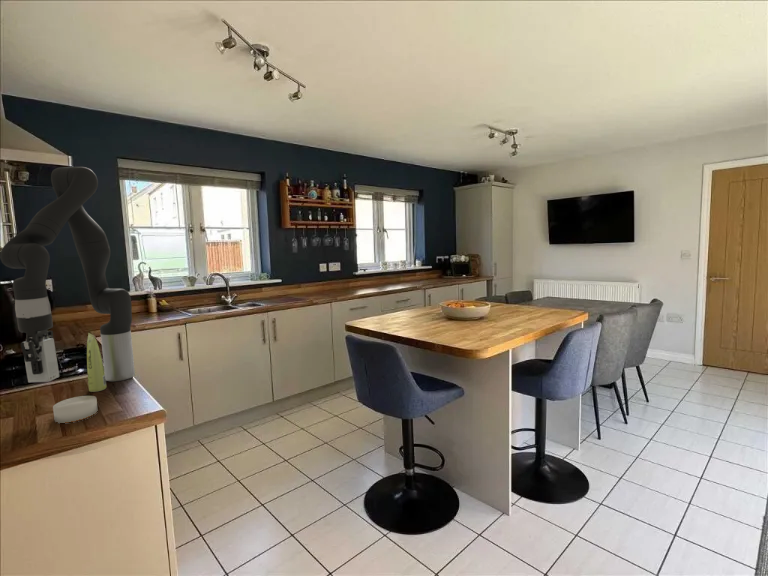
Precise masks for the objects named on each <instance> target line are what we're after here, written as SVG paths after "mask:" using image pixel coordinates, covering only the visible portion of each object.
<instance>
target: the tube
mask: <svg viewBox="0 0 768 576" xmlns="http://www.w3.org/2000/svg"><path fill="white" fill-rule="evenodd" d="M87 334H88V336H87V341H86V368H87V369H86V371H87V383H88V391H89V392H90V393H92V392H93V393H98V392H101V391H104V390H105V389H107V387H108V386H107V381H106V379H105V371H104V361H103V359H102V358H103V357H102V355H101V350H100V347H99V344H98V341H97V339H96V338H95V335H94V334H92V333H90V332H88V333H87Z"/></svg>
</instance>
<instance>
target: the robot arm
mask: <svg viewBox="0 0 768 576" xmlns="http://www.w3.org/2000/svg"><path fill="white" fill-rule="evenodd" d="M50 181H51V185H52V189H53V191H54V193H55V194H56V195H55V196H56V199H55V200H52V201H51V202H49V203H48V204H46V205H45V206H44V207H42V208H41V209H39V211H38V212H37V213H35V215H34V216H33V217H32V218H31V219H30V221H29V223H28V224H27V225H26V227H25V228H24V229H23V230H22V231H20V232H19V233H17V234H16V235H15V236H14V237H12V238H11V239H10V240H8V242H6V243H5V245H4V246H3V247H2V248H1V251H0V261H1V263H2V264H3V265H4V266H5V267H7V268H9V269H15V270H16V269H18V270H21V269H23V270H24V269H25V271H24V276H22V277H18V278H16V279H14V280H13V282H12V288H13V295H14V303H15V304H14V309H15V315H16V322H17V329H18V331H19V332H20V333H25V334H26V338H25V341H26V342H25V341H22V342H20V348H21V351H22V354H23V358H25V359H24V362H25V361H26V362H31V367H32V373H33V374H34V375H35V374H41V373H43V368H42V361H41V353H42V346H40V347H39V342H43V341H45V339H48V338H53V339H54V331H53V330H50V329H52V328H53V327H54V325H53V324H54V323H53V316H52V311H51V310H52V309H51V303H50V301H49V296H48V290H47V289H48V288H47V285H46V284H47V278H48V271H49V267H50V262H51V261H50V260H51V259H50V258H51V257H50V253H49V251H48V250H47V249H46V246H50V245H51V244H53V242H54V241H55V240H56V239H57V237H58V236H59V234H60V233H61V231H62V230H63V228H64V227H65V225H66V223H68V227H69V229H70V232H71V234H72V235H71V236H72V239H73V243H74V246H75V248H76V252H77V255H78V257H79V260H80V263H81V266H82V269H83V272H84V276H85V281H86V286H87V290H88V296H89V300H90V301H89V302H90V303H91V306H92V308H93V310H94V311H95V312H97V313H98V314H101V315H102V314H103V315H105V314H107V315H110V319H109V321H108V322H107V323H103V324H102V325H101V326H100V327H99V332H100V340H101V341H100V342H101V349H102V351H101V352H102V358H103V359H102V362H103V367H104V373H105V379H106V382H121V381H125V380H129V379H131V378H133V377H135V375H136V373H135V371H136V370H135V362H134V361H135V359H134V349H133V340H132V330H131V326H132V322H133V314H132V313H133V310H132V308H133V307H132V298H131V295H130V293H129V291H128V290H126V289H124V288H110V287H109V284H108V281H107V277H106V271H107V267H108V264H109V261H110V259H111V258H110V257H111V248H110V243H109V241H108V237H107V235H106V232H105V231H104V230H103V228H102V227H101V226H100V225H99V224H98V223H97V222H96V221H95V220H94V219H93V218H92V217H91V216H90V215H89V214H88V212H87V211H86V210H85V207H84V206H83V205H84V204H85V203H86V202H87V201H88V200H89V199H90V198H91V197H93V195H94V194H95V193H96V191H97V189H98V187H99V180H98V177H97V175H96V173H95V172H94V171H93V170H92V169H91V168H89V167H85V166H67V167H64V166H63V167H57V168H55V169H53V170H52V172H51V175H50ZM38 347H39V350H36V349H37V348H38ZM28 354H29V356H28Z"/></svg>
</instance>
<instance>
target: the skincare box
mask: <svg viewBox="0 0 768 576" xmlns="http://www.w3.org/2000/svg"><path fill="white" fill-rule="evenodd" d="M24 342H26V340H25V341H24ZM55 345H56V344H55V339H54V337H53V338H48V339H45V341H43V342H39V347H40V346H42V353H41V361H42V368H43V373H41V374H35V375H34V374H33V373H32V367H31V362H26V361H25V358H24V357H23V358H24V363H25V371H26V378H27V382H28V383H47V382H51V381H53V380H55V379H57V378H59V377H60V372H59V365H58V359H57V354H56V353H57V352H56V346H55ZM39 347H38V348H37V349H36V350H39ZM28 356H29V354H28Z"/></svg>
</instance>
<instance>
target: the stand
mask: <svg viewBox="0 0 768 576" xmlns="http://www.w3.org/2000/svg"><path fill="white" fill-rule="evenodd" d="M52 410H53V419H54V423H56V422H58V423H57V424H60V423H65V422H71V421H76V420H79V419H83V418H86V417H88V416H91V415H93V414H95V413H96V412H97V411H98V412H99V409H98V401H97V396H94V395H81V396H74V397H70V398H67V399H63V400H61V401H58V402H56V403H55V404H54V405H53V406H52ZM98 412H97V413H98ZM97 413H96V414H97ZM96 414H95V415H96ZM65 424H66V423H65Z"/></svg>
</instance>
